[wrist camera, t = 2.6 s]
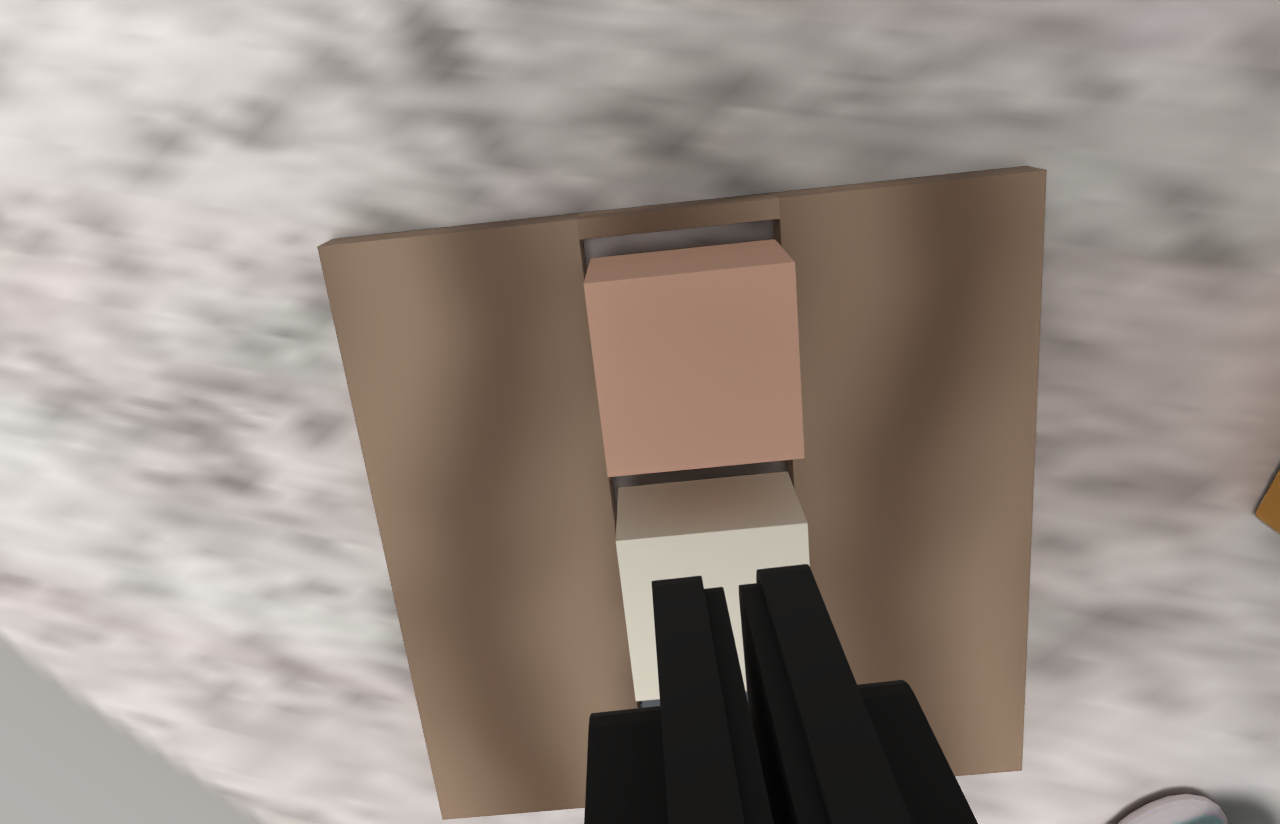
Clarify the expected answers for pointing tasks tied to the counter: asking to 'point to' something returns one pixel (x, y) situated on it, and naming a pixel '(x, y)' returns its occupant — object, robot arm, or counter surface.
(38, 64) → the counter surface
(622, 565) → the cream cube
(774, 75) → the counter surface
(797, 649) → the robot arm
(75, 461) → the counter surface
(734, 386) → the pink square block
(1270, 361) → the counter surface
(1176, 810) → the pacifier
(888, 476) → the walnut board
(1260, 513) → the small box
